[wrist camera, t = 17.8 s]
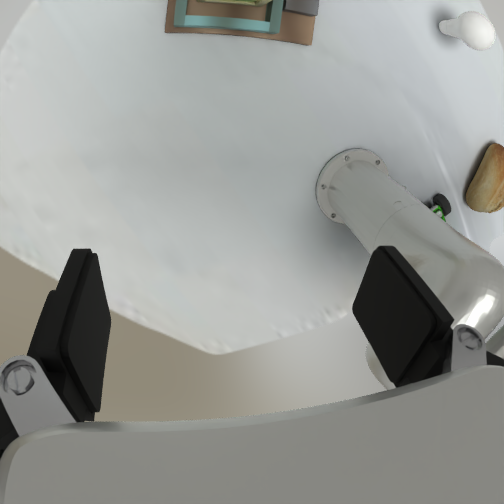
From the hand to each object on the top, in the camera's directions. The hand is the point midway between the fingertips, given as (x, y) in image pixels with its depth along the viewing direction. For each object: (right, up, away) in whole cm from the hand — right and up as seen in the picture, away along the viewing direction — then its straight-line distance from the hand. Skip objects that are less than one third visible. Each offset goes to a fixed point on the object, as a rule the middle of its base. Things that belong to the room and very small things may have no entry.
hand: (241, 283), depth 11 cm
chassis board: (0, +33, +19) cm, 38 cm away
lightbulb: (+30, +36, +24) cm, 53 cm away
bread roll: (+47, +17, +42) cm, 65 cm away
